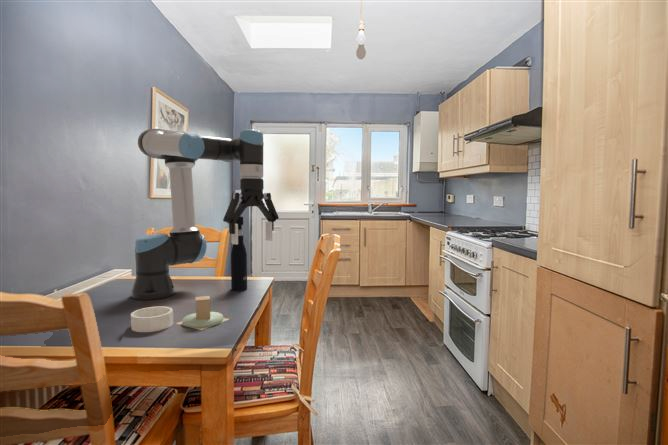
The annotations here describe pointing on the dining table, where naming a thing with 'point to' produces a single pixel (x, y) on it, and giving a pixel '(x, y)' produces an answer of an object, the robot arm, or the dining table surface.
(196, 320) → the lid
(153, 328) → the bowl
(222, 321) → the mat
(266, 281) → the dining table surface
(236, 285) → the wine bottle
